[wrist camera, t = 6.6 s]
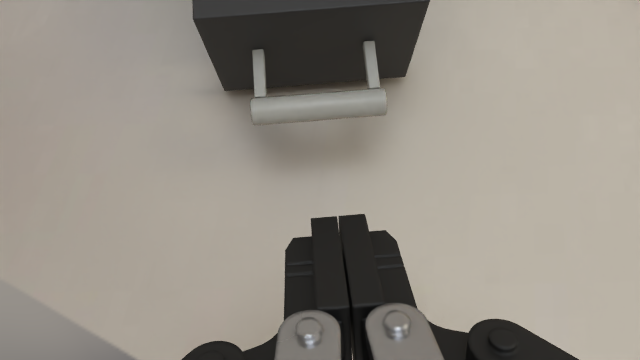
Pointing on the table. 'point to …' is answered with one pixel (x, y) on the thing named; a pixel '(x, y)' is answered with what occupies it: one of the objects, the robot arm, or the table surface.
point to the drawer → (309, 51)
